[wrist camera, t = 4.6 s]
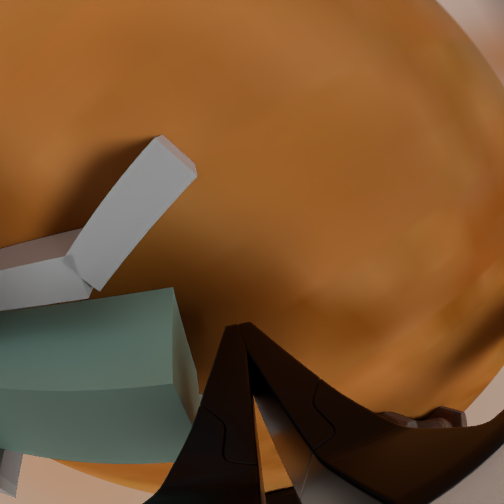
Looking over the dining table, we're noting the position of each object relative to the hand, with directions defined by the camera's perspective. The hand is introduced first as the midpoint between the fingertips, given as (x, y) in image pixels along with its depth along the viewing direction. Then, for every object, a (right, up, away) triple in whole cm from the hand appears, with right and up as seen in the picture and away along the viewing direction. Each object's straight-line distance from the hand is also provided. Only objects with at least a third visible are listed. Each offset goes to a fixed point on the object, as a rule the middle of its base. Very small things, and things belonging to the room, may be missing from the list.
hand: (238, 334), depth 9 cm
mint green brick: (-8, -1, 0) cm, 8 cm away
